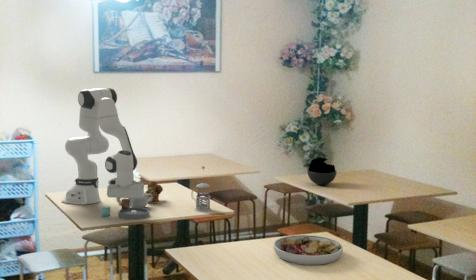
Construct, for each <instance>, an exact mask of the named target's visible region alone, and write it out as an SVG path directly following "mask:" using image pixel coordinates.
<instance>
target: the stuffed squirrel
mask: <svg viewBox="0 0 476 280" xmlns="http://www.w3.org/2000/svg"><path fill="white" fill-rule="evenodd" d="M163 191H164V187H162V186H161V184H159V181H154V180H147V186H146V191H144V193H147V194H152V196H153V197H152V200H151V201H149V202H148V203H147V204H155V205H158V204H159V201H160V200H159V198H160V195H161V193H162V192H163ZM150 198H151V196H150V195H149V196H148V198H147V201H148V200H149V199H150Z"/></svg>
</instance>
